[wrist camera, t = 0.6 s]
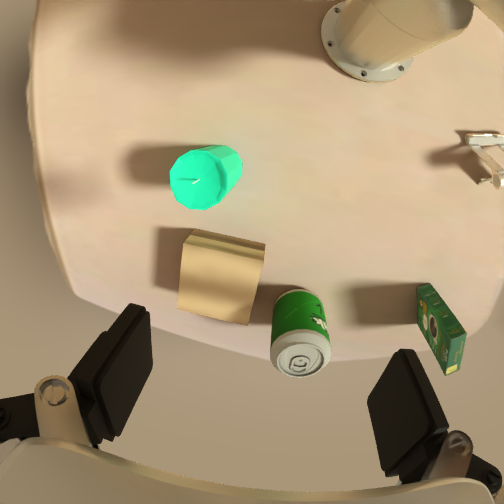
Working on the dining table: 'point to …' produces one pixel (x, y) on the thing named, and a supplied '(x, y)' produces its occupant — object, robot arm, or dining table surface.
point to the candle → (205, 176)
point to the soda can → (299, 334)
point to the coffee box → (440, 329)
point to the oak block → (219, 279)
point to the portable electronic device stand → (475, 141)
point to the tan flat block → (228, 239)
